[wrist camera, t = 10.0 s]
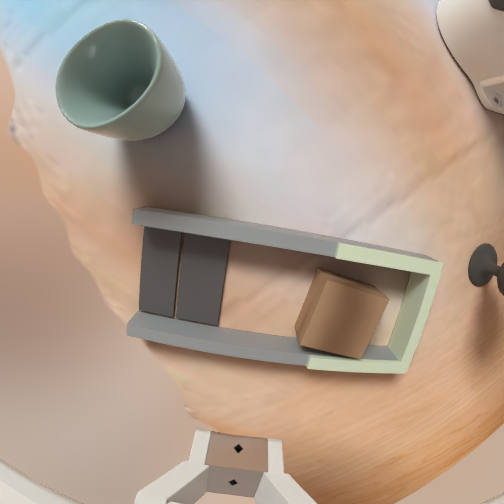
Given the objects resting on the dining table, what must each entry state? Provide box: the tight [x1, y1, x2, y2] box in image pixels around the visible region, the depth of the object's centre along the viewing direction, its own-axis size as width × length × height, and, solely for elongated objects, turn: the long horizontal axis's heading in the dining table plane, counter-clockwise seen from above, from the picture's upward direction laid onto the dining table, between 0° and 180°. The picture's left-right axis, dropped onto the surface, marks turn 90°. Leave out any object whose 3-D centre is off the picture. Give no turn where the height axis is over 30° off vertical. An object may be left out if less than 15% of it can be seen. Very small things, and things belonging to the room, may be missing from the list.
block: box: [295, 268, 389, 359], centre depth 26 cm, size 6×6×4 cm
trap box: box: [127, 207, 443, 373], centre depth 26 cm, size 27×11×4 cm, turn 81°
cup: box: [56, 19, 185, 141], centre depth 19 cm, size 8×8×10 cm
